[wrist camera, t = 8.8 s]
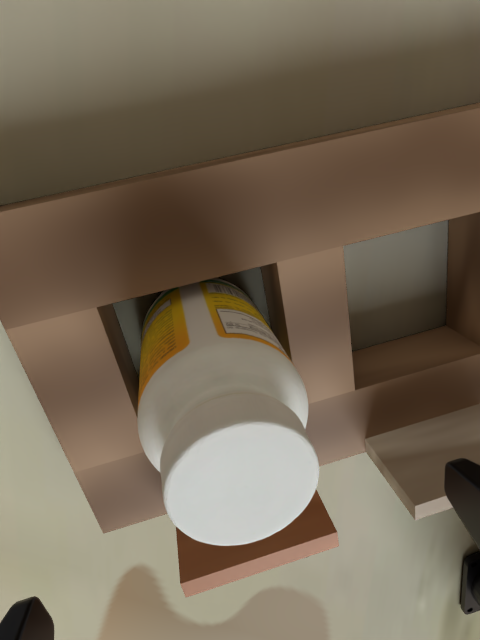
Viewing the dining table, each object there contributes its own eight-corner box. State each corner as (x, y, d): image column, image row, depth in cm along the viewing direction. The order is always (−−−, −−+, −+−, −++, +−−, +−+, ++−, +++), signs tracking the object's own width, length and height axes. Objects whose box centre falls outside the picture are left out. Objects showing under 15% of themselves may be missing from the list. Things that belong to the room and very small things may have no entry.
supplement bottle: (246, 261, 18) (340, 368, 9) (266, 364, 20) (356, 527, 12) (124, 291, 17) (102, 435, 9) (158, 394, 20) (168, 590, 11)
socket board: (493, 368, 23) (621, 450, 17) (108, 483, 21) (92, 628, 15) (517, 94, 18) (725, 65, 11) (-13, 208, 15) (-127, 253, 9)
